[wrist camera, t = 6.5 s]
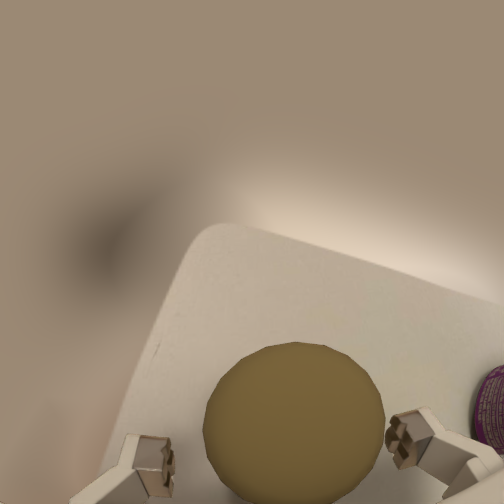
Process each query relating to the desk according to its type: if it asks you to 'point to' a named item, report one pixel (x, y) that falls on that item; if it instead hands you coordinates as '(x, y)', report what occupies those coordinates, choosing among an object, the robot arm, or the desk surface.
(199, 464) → the desk surface
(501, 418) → the beverage can
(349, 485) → the cork
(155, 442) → the robot arm
